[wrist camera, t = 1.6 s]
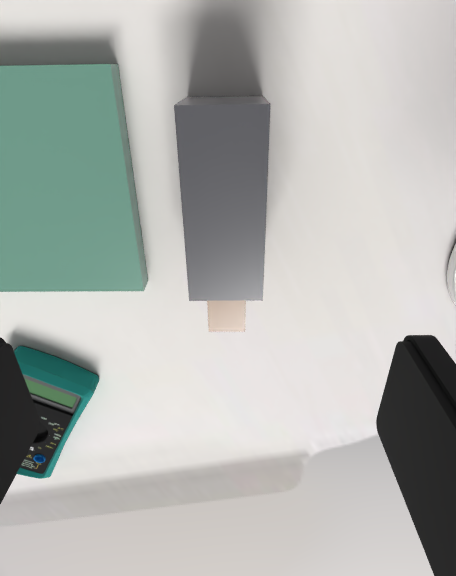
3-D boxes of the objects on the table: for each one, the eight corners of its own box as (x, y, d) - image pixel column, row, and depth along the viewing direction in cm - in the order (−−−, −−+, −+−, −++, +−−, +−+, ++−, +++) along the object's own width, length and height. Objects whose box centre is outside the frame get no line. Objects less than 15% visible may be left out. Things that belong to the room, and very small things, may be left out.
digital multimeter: (-14, 438, 39) (-31, 465, 36) (21, 338, 32) (3, 361, 29) (57, 461, 40) (45, 487, 38) (104, 370, 34) (93, 395, 31)
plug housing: (262, 95, 22) (270, 103, 17) (256, 295, 29) (261, 340, 24) (187, 96, 22) (174, 105, 17) (199, 295, 29) (192, 340, 24)
